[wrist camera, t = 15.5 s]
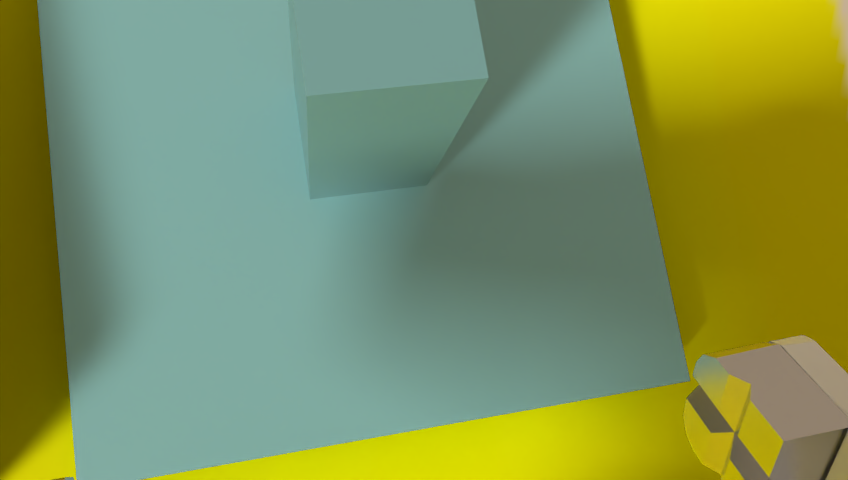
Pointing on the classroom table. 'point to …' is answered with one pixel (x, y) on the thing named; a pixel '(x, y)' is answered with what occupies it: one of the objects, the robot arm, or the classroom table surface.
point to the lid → (342, 222)
